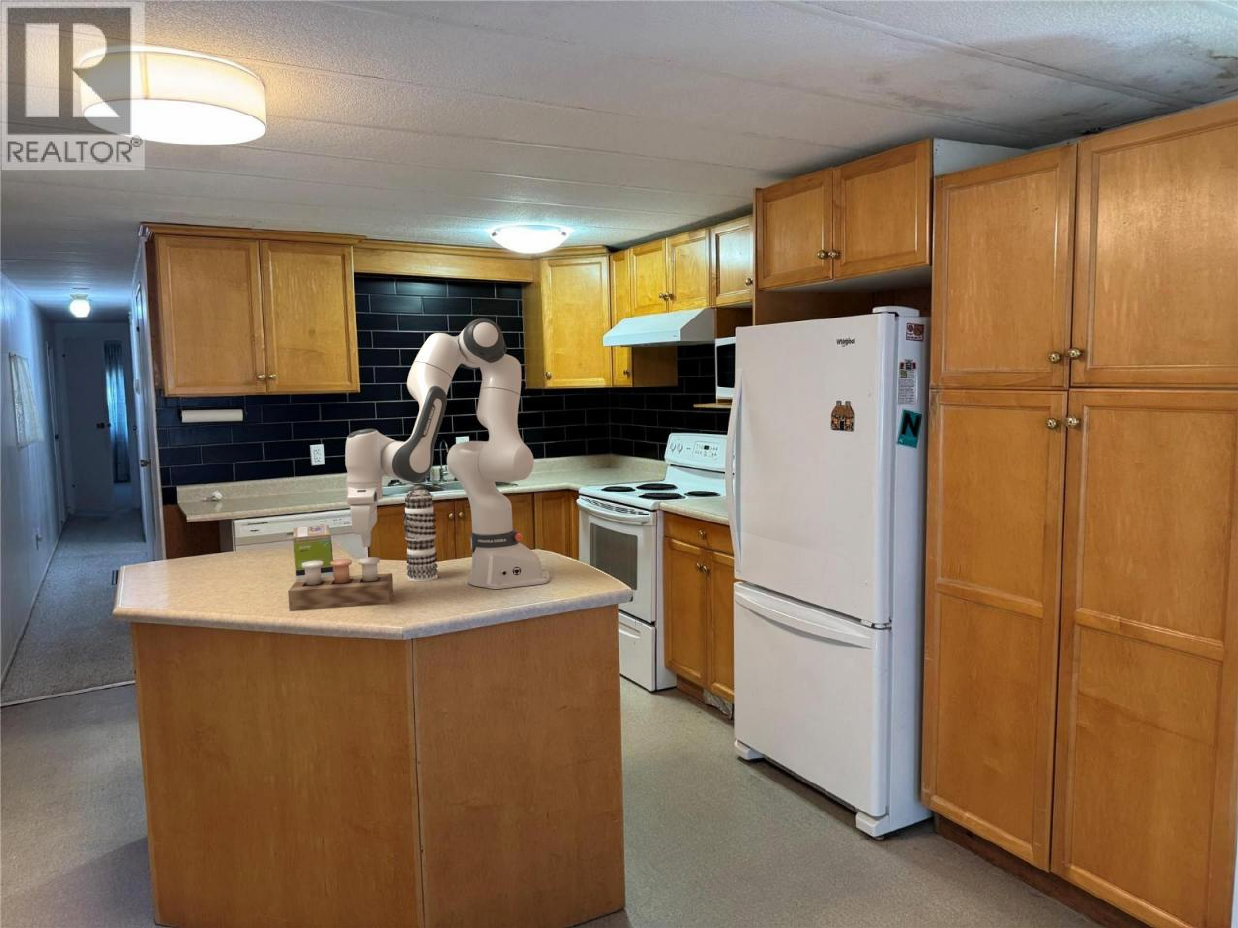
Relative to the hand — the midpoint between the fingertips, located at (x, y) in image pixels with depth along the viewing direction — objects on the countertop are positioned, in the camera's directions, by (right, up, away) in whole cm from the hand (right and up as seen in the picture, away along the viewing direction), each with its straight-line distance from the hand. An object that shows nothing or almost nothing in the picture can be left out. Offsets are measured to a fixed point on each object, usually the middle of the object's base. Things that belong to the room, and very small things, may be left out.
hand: (366, 546), depth 215 cm
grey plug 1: (-13, -10, -1) cm, 16 cm away
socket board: (-6, -14, +1) cm, 15 cm away
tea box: (-21, -12, +22) cm, 33 cm away
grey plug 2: (+1, -9, +1) cm, 9 cm away
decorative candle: (+9, -12, +23) cm, 27 cm away
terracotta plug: (-6, -9, 0) cm, 11 cm away
